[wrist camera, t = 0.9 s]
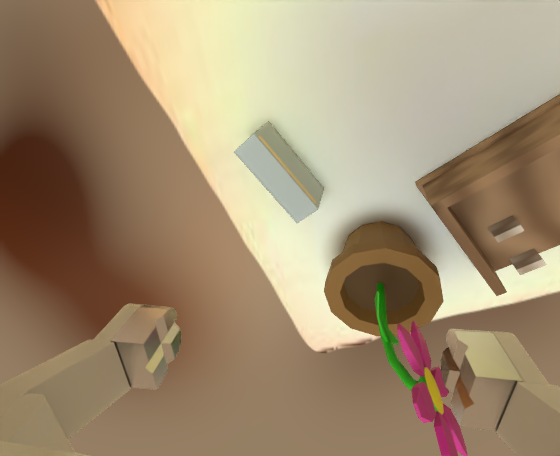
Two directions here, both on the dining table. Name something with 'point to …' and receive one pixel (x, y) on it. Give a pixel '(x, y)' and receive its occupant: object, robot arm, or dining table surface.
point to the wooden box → (504, 195)
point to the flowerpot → (395, 313)
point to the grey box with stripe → (281, 172)
